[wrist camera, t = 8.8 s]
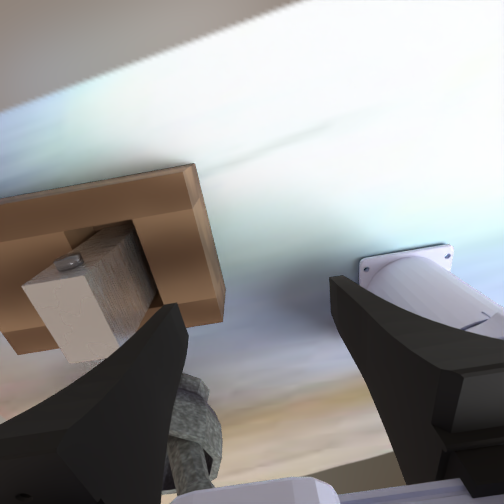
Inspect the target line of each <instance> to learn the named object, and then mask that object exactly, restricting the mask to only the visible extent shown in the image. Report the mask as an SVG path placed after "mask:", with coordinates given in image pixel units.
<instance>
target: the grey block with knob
mask: <svg viewBox="0 0 504 504" xmlns="http://www.w3.org/2000/svg"><path fill="white" fill-rule="evenodd" d="M21 287H22V288H23V290H24V292H25V293H26V295H27V296H28V298H29V300H30V301H31V303H32V304H33V306H34V307H35V309H36V311H37V312H38V314H39V315H40V317H41V319H42V320H43V322H44V323H45V325H46V327H47V328H48V330H49V331H50V333H51V335H52V336H53V338H54V339H55V341H56V343H57V344H58V346H59V347H60V349H61V351H62V352H63V354H64V355H65V357H66V359H67V360H68V362H69V363H70V364H73V363H79V362H85V361H92V360H98V359H104V358H108V357H109V356H110V355H111V354H112V353H114V352H115V351H116V350H117V349H118V348H119V347H121V346H122V345H123V344H124V343H125V342H126V341H127V340H128V339H129V338H130V337H131V336H133V335H134V334H135V333H136V331H137V329H138V327H139V325H140V323H141V321H142V319H143V317H144V316H145V314H146V312H147V310H148V308H149V306H150V304H151V302H152V300H153V298H154V296H155V294H156V292H157V291H158V288H157V285H156V282H155V280H154V277H153V274H152V272H151V269H150V266H149V263H148V261H147V258H146V255H145V253H144V250H143V247H142V245H141V242H140V239H139V237H138V234H137V231H136V229H135V226H134V223H132V224H127V225H121V226H115V227H110V228H104V229H102V230H100V231H99V232H98V233H96V234H95V235H93V236H92V237H90V238H89V239H88V240H86V241H85V242H83V243H82V244H80V245H79V246H78V247H76V248H75V249H73V250H72V251H70V252H69V253H68V254H65V255H63V256H60V257H58V258H57V259H55V260H54V261H53V264H52V265H51V266H49V267H48V268H46V269H45V270H43V271H42V272H41V273H39V274H38V275H36V276H35V277H33V278H32V279H31V280H29V281H28V282H26V283H25V284H24V285H22V286H21Z"/></svg>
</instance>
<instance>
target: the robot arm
mask: <svg viewBox="0 0 504 504" xmlns="http://www.w3.org/2000/svg"><path fill="white" fill-rule="evenodd" d="M453 253H454V247H453V246H451V245H449V244H445V245H439V246H433V247H427V248H421V249H415V250H409V251H403V252H397V253H391V254H385V255H379V256H373V257H367V258H363V259H362V260H361V261H360V263H359V285H358V284H356V283H355V282H353V281H352V280H350V279H348V278H347V277H345V276H343V275H341V276H334V277H329V282H330V302H331V314H332V317H333V319H334V322H335V325H336V327H337V330H338V332H339V334H340V336H341V338H342V339H343V341H344V343H345V345H346V347H347V349H348V350H349V352H350V354H351V356H352V358H353V360H354V361H355V363H356V365H357V367H358V369H359V370H360V372H361V374H362V376H363V378H364V380H365V382H366V384H367V387H368V389H369V391H370V394H371V396H372V398H373V401H374V403H375V405H376V408H377V410H378V413H379V415H380V418H381V420H382V422H383V425H384V427H385V430H386V432H387V435H388V437H389V440H390V443H391V445H392V448H393V450H394V453H395V455H396V458H397V461H398V463H399V466H400V469H401V471H402V474H403V477H404V480H405V482H406V486H398V487H391V488H385V489H377V490H370V491H363V492H355V493H348V494H342V495H337V494H336V492H335V490H334V489H333V487H332V486H331V485H329V484H328V483H326V482H324V481H321V480H318V479H316V478H313V477H287V478H280V479H273V480H266V481H259V482H252V483H245V484H238V485H231V486H224V487H217V488H210V489H203V490H196V491H193V492H189V493H186V494H183V495H180V496H177V497H176V498H175V499H174V500H173V501H172V502H171V503H170V504H504V308H503V307H502V306H500V305H499V304H497V303H496V302H494V301H493V300H491V299H490V298H488V297H487V296H485V295H484V294H482V293H481V292H479V291H478V290H476V289H475V288H473V287H472V286H470V285H469V284H467V283H466V282H464V281H463V280H461V279H460V278H458V277H457V276H455V275H454V274H452V273H451V272H450V271H451V265H452V259H453ZM446 254H447V256H446V257H445V255H446ZM365 267H368V268H367V269H366V270H364V268H365ZM188 337H189V335H188V332H187V330H186V327H185V324H184V321H183V318H182V315H181V312H180V309H179V306H178V304H177V303H171V304H165V305H163V306H162V307H161V308H160V309H159V310H158V311H157V312H156V313H155V314H154V315H153V316H152V317H151V318H150V319H149V320H148V321H147V322H146V323H145V324H144V325H143V326H142V327H141V328H140V329H139V330H138V331H137V332H136V333H135V334H134V335H133V336H131V337H130V338H129V339H128V340H127V341H126V342H125V343H124V344H123V345H122V346H121V347H119V348H118V349H117V350H116V351H115V352H114V353H112V354H111V355H110V356H109V357H108V358H106V359H105V360H104V361H102V362H101V363H100V364H99V365H97V366H96V367H95V368H93V369H92V370H91V371H89V372H88V373H86V374H85V375H83V376H82V377H80V378H79V379H78V380H76V381H75V382H73V383H72V384H70V385H69V386H67V387H66V388H64V389H63V390H61V391H59V392H58V393H56V394H55V395H53V396H51V397H49V398H48V399H46V400H44V401H43V402H41V403H39V404H38V405H36V406H34V407H32V408H30V409H29V410H27V411H25V412H23V413H21V414H19V415H17V416H15V417H14V418H12V419H10V420H8V421H6V422H4V423H2V424H0V504H161V494H162V484H163V475H164V466H165V458H166V451H167V443H168V436H169V429H170V423H171V417H172V411H173V406H174V402H175V398H176V394H177V390H178V386H179V383H180V379H181V375H182V371H183V367H184V363H185V359H186V355H187V347H188Z"/></svg>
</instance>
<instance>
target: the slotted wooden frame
mask: <svg viewBox="0 0 504 504" xmlns="http://www.w3.org/2000/svg"><path fill="white" fill-rule="evenodd" d="M132 223H134V226H135V229H136V231H137V234H138V237H139V239H140V242H141V245H142V247H143V250H144V253H145V255H146V258H147V261H148V263H149V266H150V269H151V272H152V274H153V277H154V280H155V282H156V285H157V288H158V291H157V292H156V294H155V296H154V298H153V300H152V302H151V304H150V306H149V308H148V310H147V312H146V314H145V316H144V317H143V319H142V321H141V323H140V325H139V327H138V329H137V331H138V330H139V329H140V328H141V327H142V326H143V325H144V324H145V323H146V322H147V321H148V320H149V319H150V318H151V317H152V316H153V315H154V314H155V313H156V312H157V311H158V310H159V309H160V308H161V307H162V306H163V305H165V304H171V303H177V304H178V306H179V309H180V312H181V315H182V318H183V321H184V324H185V327H186V328H188V327H194V326H200V325H206V324H213V323H219V322H223V314H224V303H225V292H226V288H225V284H224V280H223V276H222V272H221V268H220V264H219V260H218V256H217V252H216V248H215V244H214V240H213V236H212V231H211V227H210V223H209V219H208V215H207V211H206V207H205V203H204V199H203V195H202V191H201V187H200V183H199V178H198V174H197V170H196V166H195V164H189V165H184V166H178V167H172V168H167V169H161V170H156V171H150V172H145V173H139V174H134V175H128V176H123V177H117V178H112V179H106V180H100V181H95V182H89V183H84V184H78V185H73V186H67V187H62V188H56V189H51V190H45V191H40V192H34V193H28V194H23V195H17V196H12V197H6V198H1V199H0V331H1V332H2V334H3V335H4V337H5V338H6V339H7V341H8V342H9V343H10V345H11V346H12V348H13V349H14V350H15V352H16V353H17V354H18V355H21V354H27V353H33V352H40V351H46V350H52V349H58V348H60V347H59V346H58V344H57V343H56V341H55V339H54V338H53V336H52V335H51V333H50V331H49V330H48V328H47V327H46V325H45V323H44V322H43V320H42V319H41V317H40V315H39V314H38V312H37V311H36V309H35V307H34V306H33V304H32V303H31V301H30V300H29V298H28V296H27V295H26V293H25V292H24V290H23V288H22V287H21V286H22V285H24V284H25V283H26V282H28V281H29V280H31V279H32V278H33V277H35V276H36V275H38V274H39V273H41V272H42V271H43V270H45V269H46V268H48V267H49V266H51V265H52V264H53V261H54V260H55V259H57V258H58V257H60V256H63V255H65V254H68V253H69V252H70V251H72V250H73V249H75V248H76V247H78V246H79V245H80V244H82V243H83V242H85V241H86V240H88V239H89V238H90V237H92V236H93V235H95V234H96V233H98V232H99V231H100V230H102V229H104V228H110V227H115V226H121V225H127V224H132ZM137 331H136V332H137Z"/></svg>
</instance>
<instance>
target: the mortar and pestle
mask: <svg viewBox="0 0 504 504" xmlns="http://www.w3.org/2000/svg"><path fill="white" fill-rule="evenodd" d="M208 396H209V389H208V388H207V387H206V385H205V384H204V383H203V381H202V380H201V379H198V378H196V377H193V376H190V375H187V374H182V375H181V379H180V383H179V386H178V390H177V394H176V398H175V402H174V406H173V411H172V417H171V423H170V429H169V436H168V443H167V451H166V458H165V466H164V475H163V484H162V494H161V495H165V494H173V493H177V496H180V495H183V494H186V493H189V492H193V491H196V490H203V489H210V488H215V487H214V485H213V484H212V483H211V481H212V480H214V479H215V478H217V475H218V471H219V467H220V463H221V459H222V431H221V424H220V422H219V420H218V418H217V416H216V414H215V412H214V411H213V409H212V408H211V407H210V406H209V405H208V403H207V401H208Z"/></svg>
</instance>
